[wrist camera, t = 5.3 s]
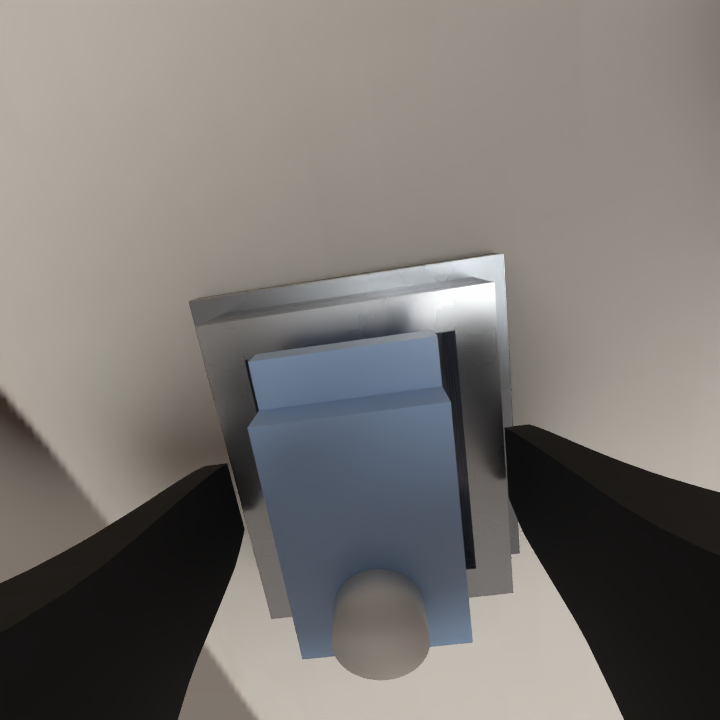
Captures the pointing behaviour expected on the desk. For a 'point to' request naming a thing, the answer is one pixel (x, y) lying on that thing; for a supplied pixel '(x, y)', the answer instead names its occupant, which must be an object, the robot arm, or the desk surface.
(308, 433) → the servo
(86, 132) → the desk surface
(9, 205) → the desk surface
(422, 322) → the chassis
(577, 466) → the robot arm
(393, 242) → the desk surface
